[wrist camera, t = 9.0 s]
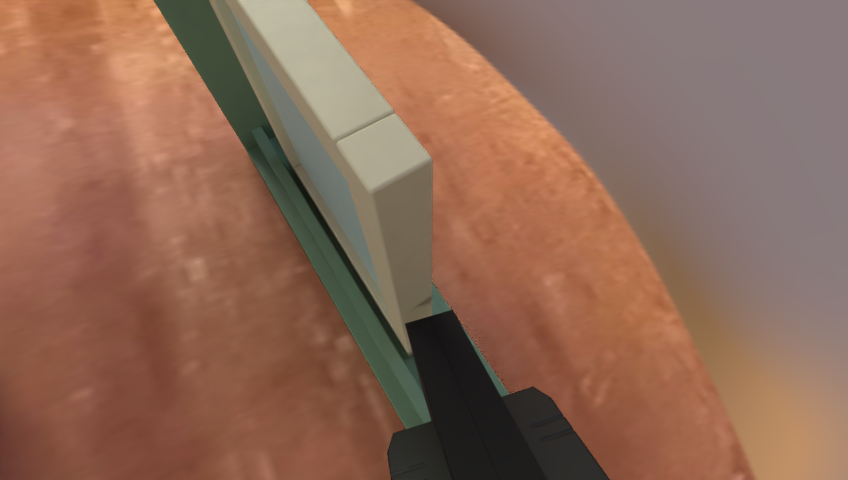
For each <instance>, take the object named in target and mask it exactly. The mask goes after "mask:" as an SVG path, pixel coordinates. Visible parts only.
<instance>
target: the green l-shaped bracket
mask: <svg viewBox="0 0 848 480" xmlns="http://www.w3.org/2000/svg"><path fill="white" fill-rule="evenodd" d="M154 2H155V3H156V5H157V6H158V8H159V10H160V11H161V13H162V15H163V16H164V18H165V19H166V21H167V23H168V24H169V26H170V28H171V29H172V31H173V32H174V34H175V36H176V37H177V39H178V40H179V42H180V44H181V45H182V47H183V49H184V50H185V52H186V53H187V55H188V57H189V58H190V60H191V61H192V63H193V65H194V66H195V68H196V70H197V71H198V73H199V74H200V76H201V78H202V79H203V81H204V82H205V84H206V86H207V87H208V89H209V91H210V92H211V94H212V95H213V97H214V99H215V100H216V102H217V104H218V105H219V107H220V108H221V110H222V112H223V113H224V115H225V116H226V118H227V120H228V121H229V123H230V125H231V126H232V128H233V129H234V131H235V133H236V134H237V136H238V137H239V139H240V141H241V142H242V144H243V146H244V147H245V149H246V150H247V152H248V154H249V156H250V157H251V159H252V161H253V163H254V164H255V166H256V168H257V170H258V171H259V173H260V175H261V177H262V178H263V180H264V182H265V184H266V185H267V187H268V189H269V191H270V192H271V194H272V196H273V198H274V199H275V201H276V203H277V205H278V206H279V208H280V210H281V212H282V213H283V215H284V217H285V219H286V220H287V222H288V224H289V226H290V227H291V229H292V231H293V233H294V234H295V236H296V238H297V240H298V241H299V243H300V245H301V247H302V248H303V250H304V252H305V254H306V255H307V257H308V259H309V260H310V262H311V264H312V266H313V267H314V269H315V271H316V273H317V274H318V276H319V278H320V280H321V281H322V283H323V285H324V287H325V288H326V290H327V292H328V294H329V295H330V297H331V299H332V301H333V302H334V304H335V306H336V308H337V309H338V311H339V313H340V315H341V316H342V318H343V320H344V322H345V323H346V325H347V327H348V329H349V330H350V332H351V334H352V336H353V337H354V339H355V341H356V343H357V344H358V346H359V348H360V350H361V351H362V353H363V355H364V357H365V358H366V360H367V362H368V364H369V365H370V367H371V369H372V371H373V372H374V374H375V376H376V378H377V379H378V381H379V383H380V385H381V386H382V388H383V390H384V392H385V393H386V395H387V397H388V399H389V400H390V402H391V404H392V406H393V407H394V409H395V411H396V413H397V414H398V416H399V418H400V420H401V421H402V423H403V425H404V427H405V428H406V429H408V428H411V427H414V426H418V425H421V424H424V423H427V422H430V421H431V417H430V414H429V411H428V407H427V404H426V401H425V397H424V394H423V390H422V386H421V383H420V379H419V375H418V371H417V368H416V364H415V360H414V356H413V355H412V356H408V355H407V353H406V352H405V350H404V349H403V347H402V345H401V344H400V342H399V340H398V339H397V337H396V336H395V333H394V332H393V331H392V329H391V327H390V326H389V324H388V323H387V321H386V319H385V318H384V316H383V314H382V313H381V311H380V310H379V308H378V306H377V305H376V303H375V301H374V300H373V298H372V297H371V295H370V293H369V292H368V290H367V288H366V287H365V285H364V284H363V282H362V280H361V279H360V277H359V275H358V274H357V272H356V271H355V269H354V267H353V266H352V264H351V262H350V261H349V259H348V258H347V256H346V254H345V253H344V251H343V249H342V248H341V246H340V245H339V243H338V241H337V240H336V238H335V236H334V235H333V233H332V232H331V230H330V228H329V227H328V225H327V223H326V222H325V220H324V219H323V217H322V215H321V214H320V212H319V210H318V209H317V207H316V206H315V204H314V202H313V201H312V199H311V197H310V196H309V194H308V193H307V191H306V189H305V188H304V186H303V184H302V183H301V181H300V179H299V178H298V176H297V175H296V173H295V171H294V170H293V168H292V167H291V165H290V163H289V161H288V159H287V157H286V155H285V153H284V151H283V149H282V147H281V145H280V143H279V141H278V139H277V137H276V135H275V133H274V131H273V129H272V127H271V125H270V123H269V121H268V119H267V117H266V115H265V113H264V111H263V109H262V107H261V105H260V102H259V100H258V98H257V96H256V94H255V92H254V90H253V88H252V86H251V84H250V82H249V80H248V78H247V76H246V74H245V72H244V70H243V68H242V66H241V64H240V62H239V60H238V58H237V56H236V54H235V52H234V50H233V48H232V46H231V44H230V42H229V40H228V38H227V36H226V34H225V32H224V30H223V28H222V26H221V24H220V22H219V20H218V18H217V16H216V14H215V12H214V10H213V8H212V6H211V4H210V2H209V0H154ZM449 310H451V309H450V307H449V306H448V304H447V303H446V301H445V300H444V298H443V297H442V295H441V294H440V293H439V291H438V290H437V288H436V287H435V285H434V284H433V282H432V315H435V314H439V313H442V312H446V311H449ZM460 324H461V323H460ZM461 326H462V324H461ZM462 327H463V326H462ZM463 329H464V327H463ZM464 331H465V333H466V335H467V336H468V338H469V340H470V342H471V344H472V345H473V347H474V349H475V351H476V353H477V354H478V356H479V358H480V360H481V361H482V363H483V365H484V367H485V369H486V370H487V372H488V374H489V376H490V378H491V379H492V381H493V383H494V385H495V387H496V388H497V390H498V392H499V394H500V396H501V397H503V396H506V395H509V393H508V391H507V390H506V388H505V387H504V385H503V384H502V382H501V381H500V380H499V378H498V377H497V375H496V374H495V372H494V371H493V369H492V368H491V366H490V365H489V364H488V362H487V361H486V359H485V358H484V356H483V355H482V353H481V352H480V351H479V349H478V348H477V346H476V345H475V343H474V342H473V340H472V339H471V338H470V336H469V335H468V333H467V332H466V330H465V329H464Z"/></svg>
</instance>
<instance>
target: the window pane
mask: <svg viewBox="0 0 848 480" xmlns="http://www.w3.org/2000/svg"><path fill="white" fill-rule="evenodd" d="M209 2H210V4H211V6H212V8H213V10H214V12H215V14H216V16H217V18H218V20H219V22H220V24H221V26H222V28H223V30H224V32H225V34H226V36H227V38H228V40H229V42H230V44H231V46H232V48H233V50H234V52H235V54H236V56H237V58H238V60H239V62H240V64H241V66H242V68H243V70H244V72H245V74H246V76H247V78H248V80H249V82H250V84H251V86H252V88H253V90H254V92H255V94H256V96H257V98H258V100H259V102H260V105H261V107H262V109H263V111H264V113H265V115H266V117H267V119H268V121H269V123H270V125H271V127H272V129H273V131H274V133H275V135H276V137H277V139H278V141H279V143H280V145H281V147H282V149H283V151H284V153H285V155H286V157H287V159H288V161H289V163H290V165H291V167H292V168H293V170H294V171H295V173H296V175H297V176H298V178H299V179H300V181H301V183H302V184H303V186H304V188H305V189H306V191H307V193H308V194H309V196H310V197H311V199H312V201H313V202H314V204H315V206H316V207H317V209H318V210H319V212H320V214H321V215H322V217H323V219H324V220H325V222H326V223H327V225H328V227H329V228H330V230H331V232H332V233H333V235H334V236H335V238H336V240H337V241H338V243H339V245H340V246H341V248H342V249H343V251H344V253H345V254H346V256H347V258H348V259H349V261H350V262H351V264H352V266H353V267H354V269H355V271H356V272H357V274H358V275H359V277H360V279H361V280H362V282H363V284H364V285H365V287H366V288H367V290H368V292H369V293H370V295H371V297H372V298H373V300H374V301H375V303H376V305H377V306H378V308H379V310H380V311H381V313H382V314H383V316H384V318H385V319H386V321H387V323H388V324H389V326H390V327H391V329H392V331H393V332H394V333H395V336H396V337H397V339H398V340H399V342H400V344H401V345H402V347H403V349H404V350H405V352H406V353H407V355H408V356H412V355H413V353H412V349H411V345H410V341H409V338H408V334H407V330H406V327H405V323H408V322H412V321H415V320H418V319H422V318H425V317H429V316H432V183H433V161H432V158H431V156H430V155H429V154H428V153H427V151H426V150H425V149H424V147H423V146H422V145H421V144H420V142H419V141H418V140H417V139H416V137H415V136H414V135H413V134H412V132H411V131H410V130H409V129H408V127H407V126H406V125H405V124H404V122H403V121H402V120H401V119H400V117H399V116H398V115H397V114H395V112H394V109H393V108H392V107H391V106H390V104H389V103H388V102H387V101H386V99H385V98H384V97H383V96H382V94H381V93H380V92H379V91H378V89H377V88H376V87H375V86H374V84H373V83H372V82H371V81H370V79H369V78H368V77H367V75H366V74H365V73H364V72H363V70H362V69H361V68H360V67H359V65H358V64H357V63H356V62H355V60H354V59H353V58H352V57H351V55H350V54H349V53H348V52H347V50H346V49H345V48H344V47H343V45H342V44H341V43H340V42H339V40H338V39H337V38H336V37H335V35H334V34H333V33H332V31H331V30H330V29H329V28H328V26H327V25H326V24H325V23H324V21H323V20H322V19H321V18H320V16H319V15H318V14H317V13H316V11H315V10H314V9H313V8H312V6H311V5H310V4H309V3H308V1H307V0H209Z"/></svg>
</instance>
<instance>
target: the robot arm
mask: <svg viewBox="0 0 848 480" xmlns="http://www.w3.org/2000/svg"><path fill="white" fill-rule="evenodd" d="M405 327H406V330H407V334H408V338H409V341H410V345H411V349H412V353H413V356H414V360H415V364H416V368H417V371H418V375H419V379H420V383H421V386H422V390H423V394H424V397H425V401H426V404H427V407H428V411H429V414H430V417H431V421H430V422H427V423H424V424H421V425H418V426H414V427H411V428H408V429H405V430H402V431H399V432H396V433H393V436H392V439H391V442H390V445H389V449H388V452H387V455H388V462H389V469H390V474H391V480H610V479H609V478H608V476H607V475H606V474H605V472H604V471H603V469H602V468H601V467H600V465H599V464H598V462H597V461H596V460H595V458H594V457H593V456H592V454H591V453H590V451H589V450H588V449H587V447H586V446H585V444H584V443H583V442H582V440H581V439H580V437H579V436H578V435H577V433H576V432H575V431H573V429H572V426H571V425H570V424H569V422H568V421H567V419H566V418H565V417H563V414H562V413H561V411H560V410H559V408H558V407H557V406H556V404H555V403H554V401H553V400H552V399H551V398H550V397H549V396H547V395H546V394H544V393H542V392H541V391H539V390H538V389H536V388H534V387H530V388H527V389H524V390H521V391H518V392H515V393H512V394H509V395H506V396H503V397H501V396H500V394H499V392H498V390H497V388H496V387H495V385H494V383H493V381H492V379H491V378H490V376H489V374H488V372H487V370H486V369H485V367H484V365H483V363H482V361H481V360H480V358H479V356H478V354H477V353H476V351H475V349H474V347H473V345H472V344H471V342H470V340H469V338H468V336H467V335H466V333H465V331H464V329H463V327H462V326H461V324H460V322H459V320H458V318H457V317H456V315H455V313H454V311H453V309H452V310H449V311H446V312H442V313H439V314H435V315H432V316H429V317H425V318H422V319H418V320H415V321H412V322H408V323H405Z"/></svg>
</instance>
